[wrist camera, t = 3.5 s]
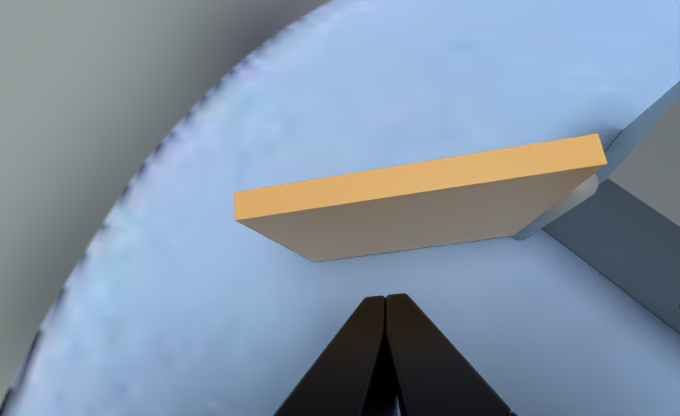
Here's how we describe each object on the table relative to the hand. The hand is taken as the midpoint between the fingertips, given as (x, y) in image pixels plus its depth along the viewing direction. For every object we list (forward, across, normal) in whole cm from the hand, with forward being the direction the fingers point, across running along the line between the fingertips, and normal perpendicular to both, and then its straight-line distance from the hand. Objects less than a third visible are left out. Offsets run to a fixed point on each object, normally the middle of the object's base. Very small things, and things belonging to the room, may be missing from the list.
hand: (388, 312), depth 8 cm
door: (+8, +1, -4) cm, 9 cm away
